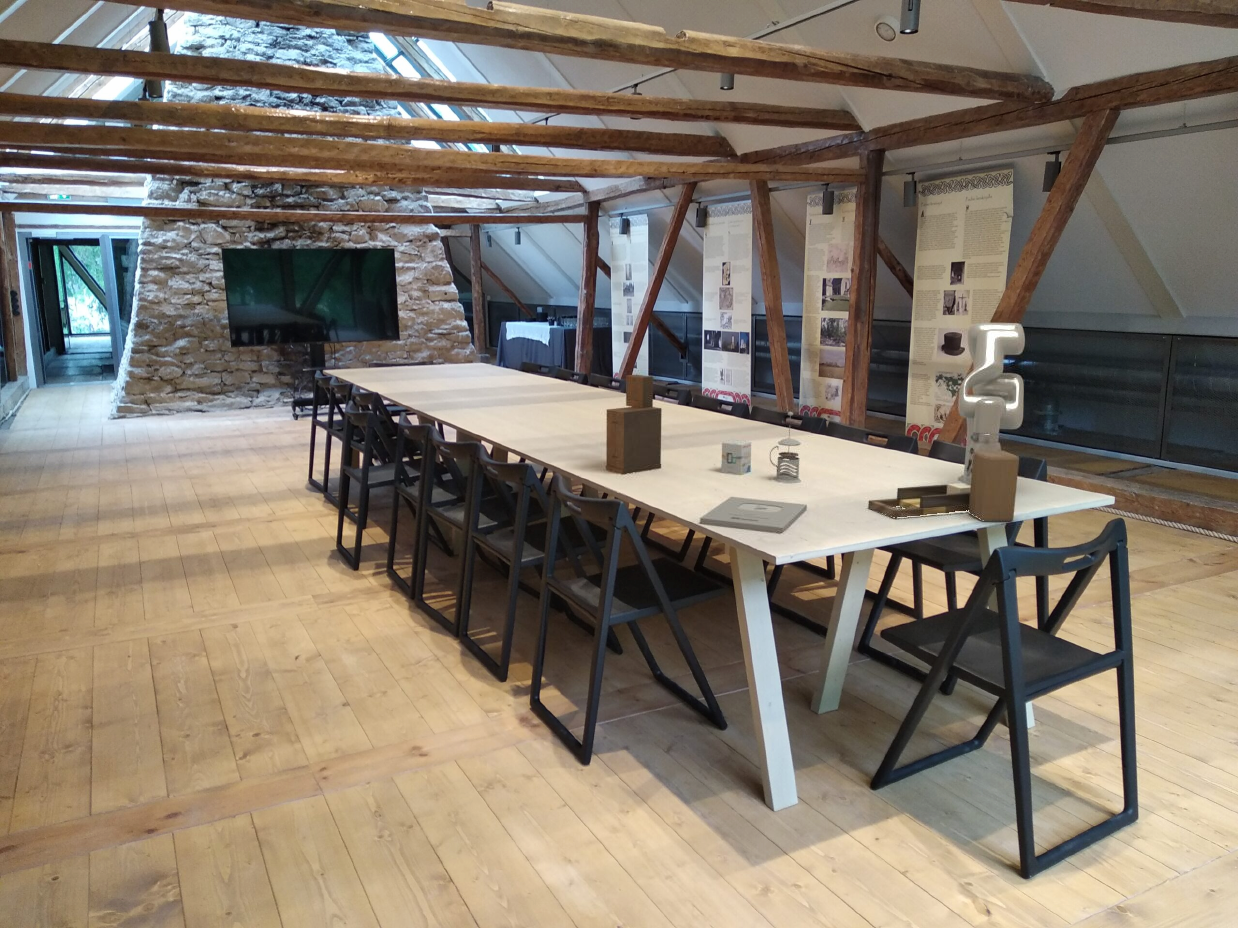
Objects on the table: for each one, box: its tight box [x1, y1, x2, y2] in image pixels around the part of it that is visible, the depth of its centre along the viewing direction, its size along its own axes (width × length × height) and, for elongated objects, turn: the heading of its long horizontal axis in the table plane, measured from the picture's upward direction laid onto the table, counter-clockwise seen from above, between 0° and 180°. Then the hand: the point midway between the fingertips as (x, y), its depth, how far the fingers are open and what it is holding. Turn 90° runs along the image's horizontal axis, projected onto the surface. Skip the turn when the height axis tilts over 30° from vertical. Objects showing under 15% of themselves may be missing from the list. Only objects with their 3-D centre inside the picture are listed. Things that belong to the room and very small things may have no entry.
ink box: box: [720, 439, 752, 476], centre depth 324 cm, size 8×8×12 cm
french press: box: [769, 411, 802, 484], centre depth 310 cm, size 10×12×25 cm
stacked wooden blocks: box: [605, 374, 662, 475], centre depth 328 cm, size 19×14×35 cm
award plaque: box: [699, 496, 808, 534], centre depth 261 cm, size 25×30×2 cm
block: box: [969, 450, 1020, 522], centre depth 259 cm, size 10×10×20 cm
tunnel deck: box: [867, 484, 970, 518], centre depth 270 cm, size 14×35×6 cm, turn 108°
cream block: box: [946, 482, 971, 494], centre depth 273 cm, size 6×6×4 cm
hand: (980, 494), depth 275 cm, fingers closed
